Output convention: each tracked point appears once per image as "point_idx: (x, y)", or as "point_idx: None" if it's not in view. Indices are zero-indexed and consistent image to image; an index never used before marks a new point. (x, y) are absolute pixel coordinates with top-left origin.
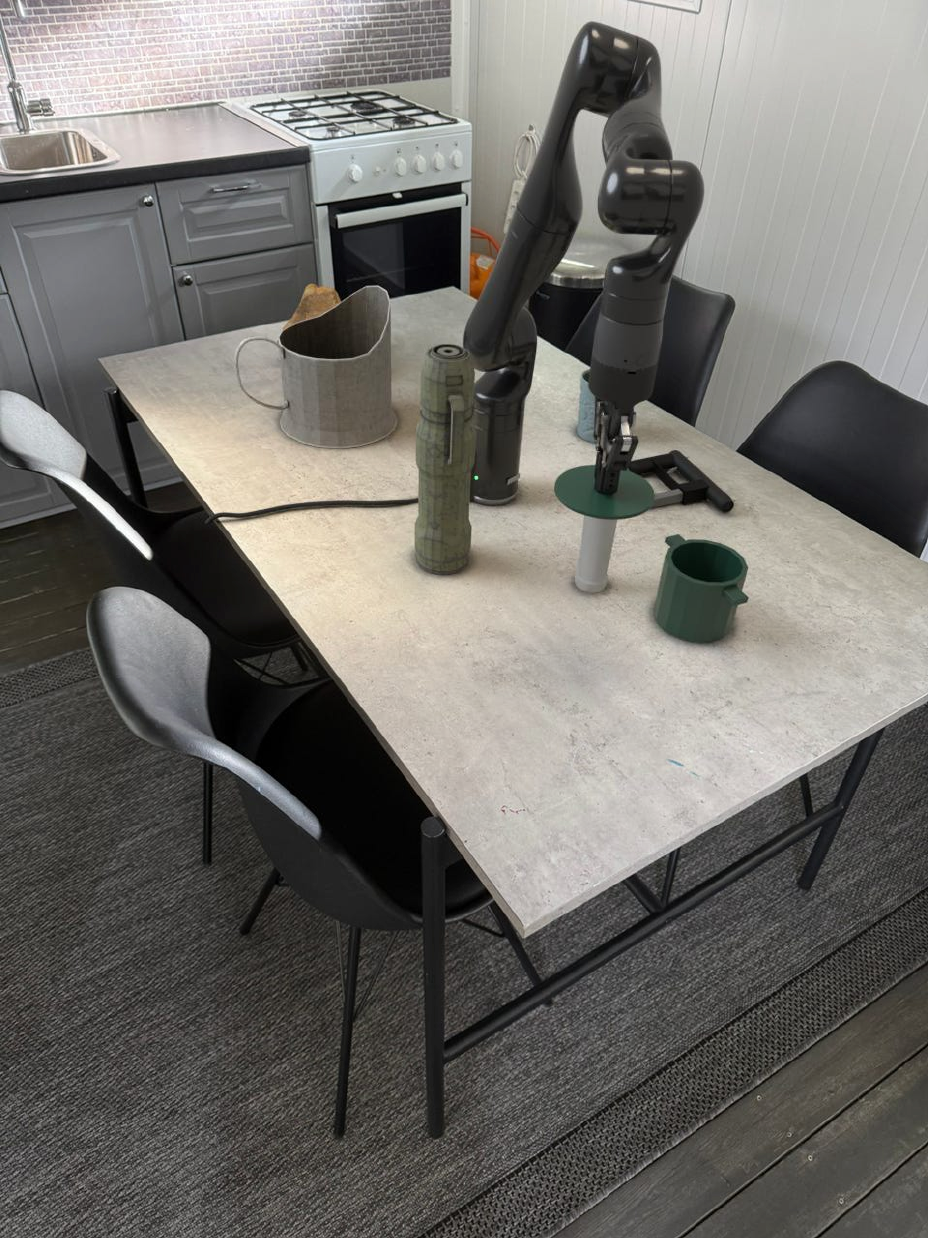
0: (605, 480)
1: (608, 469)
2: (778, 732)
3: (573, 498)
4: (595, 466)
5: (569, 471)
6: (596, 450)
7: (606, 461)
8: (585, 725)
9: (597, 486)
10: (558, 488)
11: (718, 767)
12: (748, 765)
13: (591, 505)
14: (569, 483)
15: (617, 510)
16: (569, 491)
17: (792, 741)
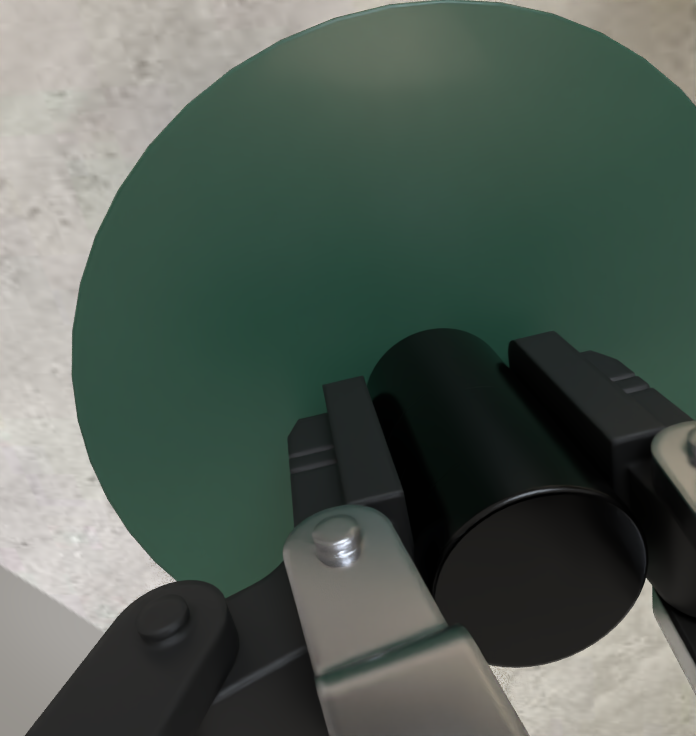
0: (309, 470)
1: (116, 628)
2: (145, 582)
3: (258, 181)
4: (574, 368)
5: (676, 128)
6: (676, 428)
7: (213, 633)
8: (30, 210)
9: (400, 363)
10: (397, 41)
11: (4, 485)
12: (32, 534)
13: (191, 321)
14: (490, 136)
15: (179, 484)
16: (362, 142)
17: (128, 602)
